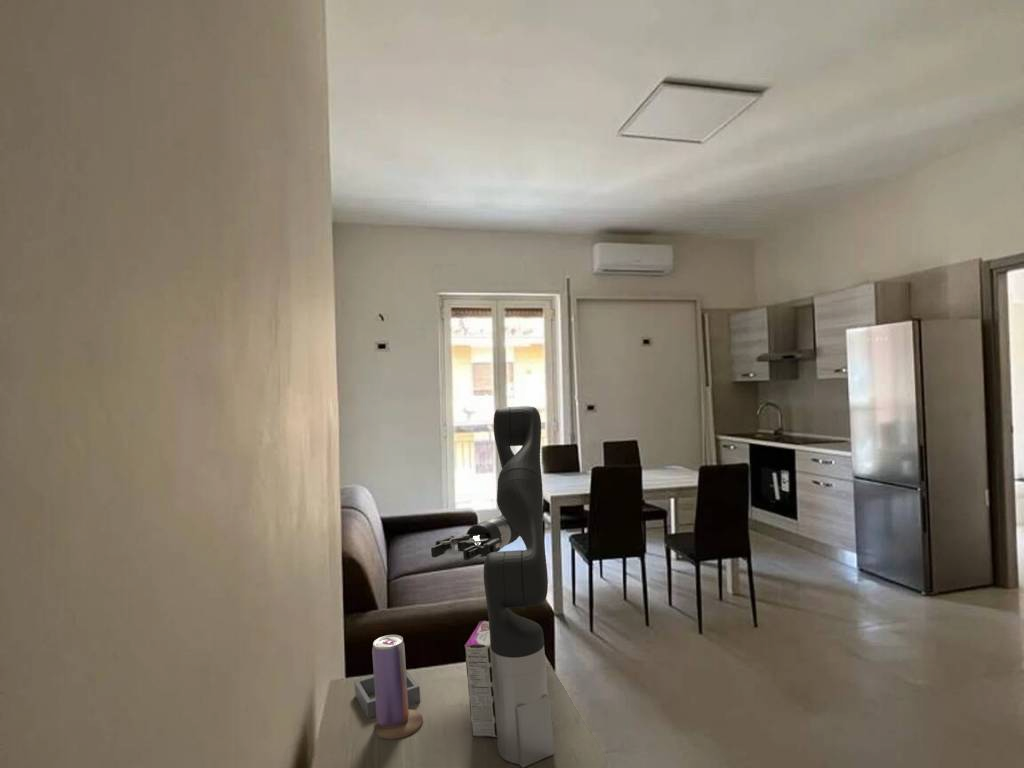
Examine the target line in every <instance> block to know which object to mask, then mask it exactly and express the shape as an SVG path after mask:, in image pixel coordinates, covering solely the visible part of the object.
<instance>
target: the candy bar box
mask: <svg viewBox="0 0 1024 768" xmlns="http://www.w3.org/2000/svg"><path fill="white" fill-rule="evenodd" d="M464 653H465V654H464V655H465V666H466V676H467V678H466V679H467V686H468V699H469V708H470V709H469V711H470V723H471V736H473V737H478V738H497V728H496V716H495V702H494V688H493V674H492V659H491V645H490V631H489V620H488V621H487V620H480V621H478V624H477V626H476V628H475V629H474V631H473V632H472V634H471V635H470V637H469V638H468V640H467V642H466V643H465V644H464Z"/></svg>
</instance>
